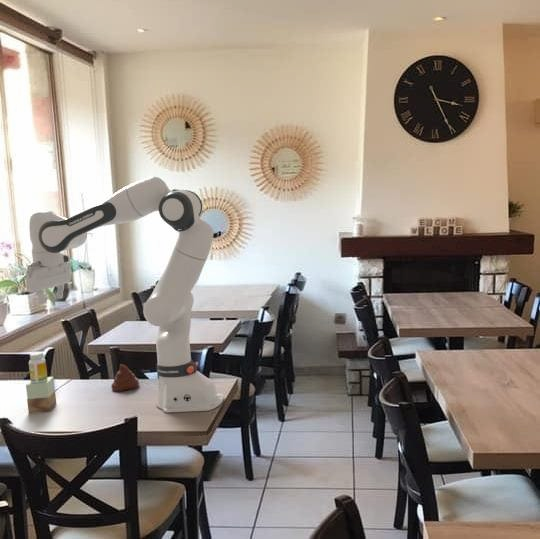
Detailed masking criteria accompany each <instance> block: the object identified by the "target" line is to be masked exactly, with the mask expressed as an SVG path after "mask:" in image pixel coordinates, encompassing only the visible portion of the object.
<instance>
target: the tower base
mask: <svg viewBox="0 0 540 539" xmlns="http://www.w3.org/2000/svg"><path fill="white" fill-rule="evenodd" d="M56 396H57V395H56V390H55V391H54V392H53V393H52V394H51V395H50V397H47V398H35V399H28V398H26V401H27V410H28V411H27V412H28V414H38V413H50V412H51V411H52V410H53V409H54V408H55V407H56V406H57V399H56V398H57V397H56Z"/></svg>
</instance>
